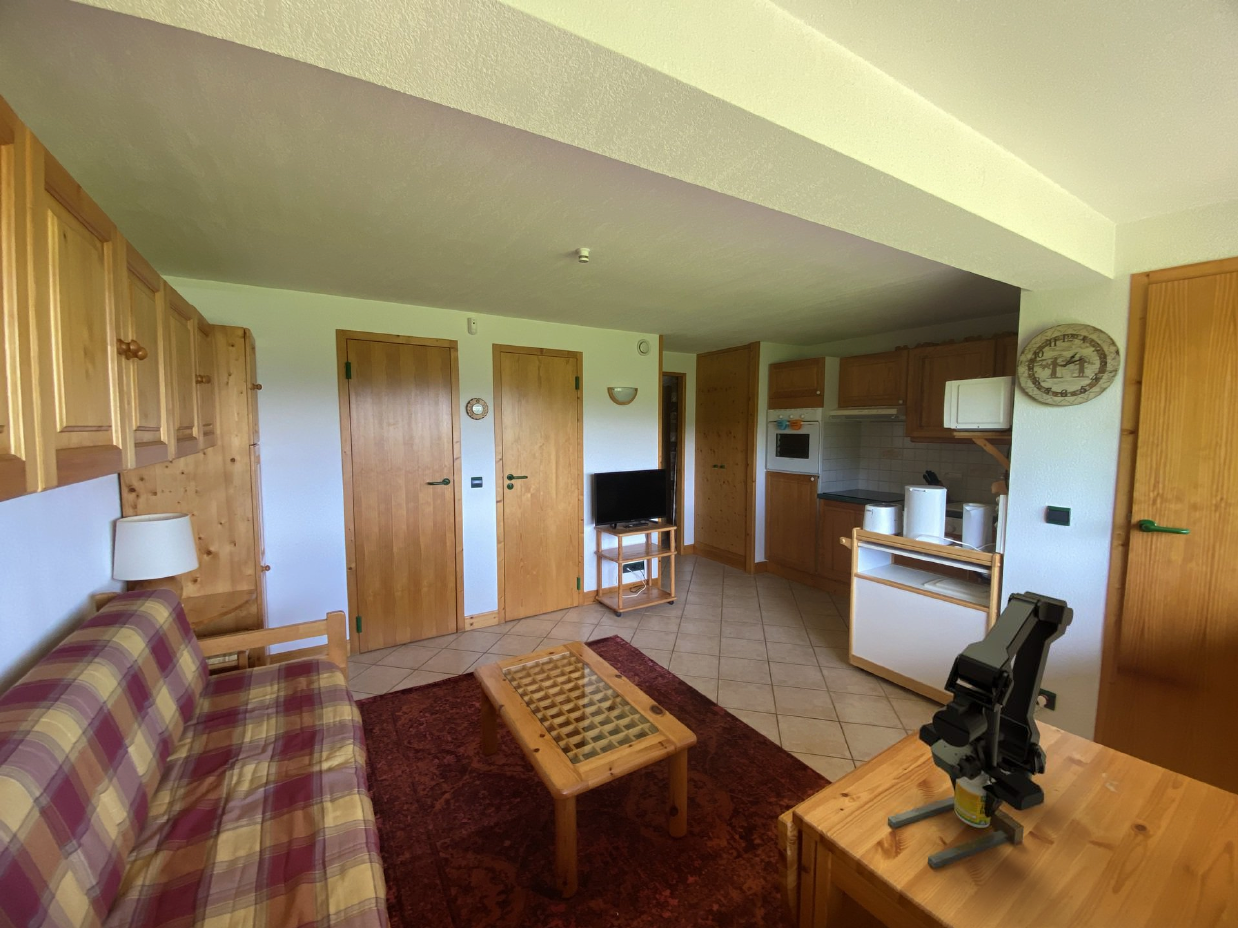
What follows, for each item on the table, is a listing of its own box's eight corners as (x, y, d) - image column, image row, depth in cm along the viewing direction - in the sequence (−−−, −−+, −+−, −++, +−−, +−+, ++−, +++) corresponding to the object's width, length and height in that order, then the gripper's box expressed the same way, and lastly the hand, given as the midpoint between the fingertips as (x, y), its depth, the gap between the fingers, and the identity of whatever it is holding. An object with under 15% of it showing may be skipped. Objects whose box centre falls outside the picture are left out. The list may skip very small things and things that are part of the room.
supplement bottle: (961, 800, 92) (965, 753, 91) (995, 819, 88) (999, 770, 87) (948, 813, 89) (951, 765, 88) (982, 834, 85) (986, 783, 84)
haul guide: (961, 794, 95) (962, 780, 95) (1022, 841, 85) (1023, 826, 85) (884, 819, 90) (884, 804, 90) (938, 873, 80) (939, 856, 79)
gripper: (898, 702, 93) (894, 777, 95) (999, 771, 75) (992, 861, 77) (943, 691, 96) (938, 764, 98) (1050, 755, 79) (1042, 842, 80)
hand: (972, 803), depth 88 cm, fingers closed on supplement bottle, 5 cm apart
